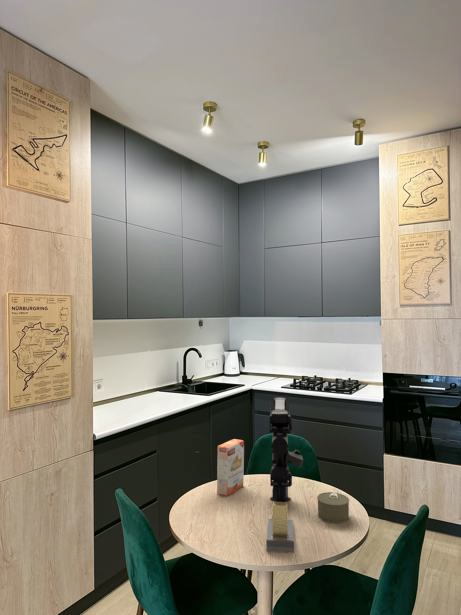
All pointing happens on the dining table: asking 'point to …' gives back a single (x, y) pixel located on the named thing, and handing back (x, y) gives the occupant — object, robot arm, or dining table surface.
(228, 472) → the cracker box
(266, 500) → the dining table surface
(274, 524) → the lever
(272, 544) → the rail
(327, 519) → the can
